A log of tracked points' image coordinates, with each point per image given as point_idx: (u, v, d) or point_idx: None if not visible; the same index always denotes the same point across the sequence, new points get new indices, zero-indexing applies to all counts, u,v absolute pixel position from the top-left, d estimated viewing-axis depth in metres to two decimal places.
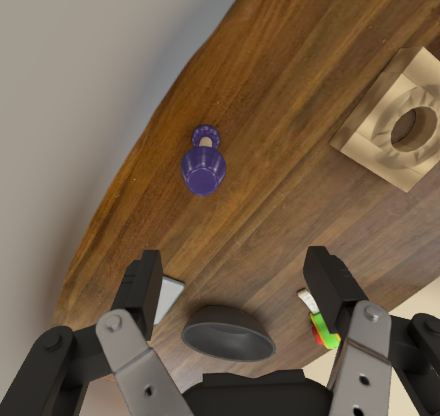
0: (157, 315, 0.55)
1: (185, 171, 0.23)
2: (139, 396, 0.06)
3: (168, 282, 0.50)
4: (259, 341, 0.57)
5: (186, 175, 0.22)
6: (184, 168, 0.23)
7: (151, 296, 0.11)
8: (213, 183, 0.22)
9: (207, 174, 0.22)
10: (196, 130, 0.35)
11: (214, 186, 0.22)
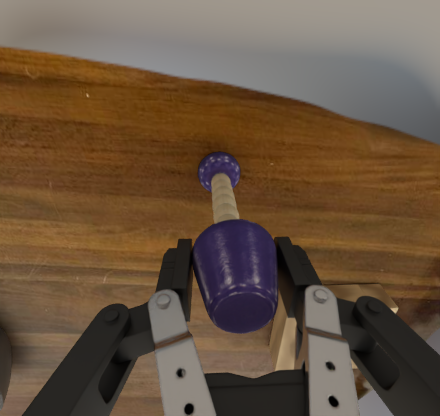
0: None
1: (239, 267, 0.10)
2: (170, 374, 0.07)
3: None
4: None
5: (239, 282, 0.10)
6: (236, 254, 0.11)
7: (189, 280, 0.12)
8: (251, 329, 0.11)
9: (264, 314, 0.10)
10: (226, 157, 0.23)
11: (245, 332, 0.11)
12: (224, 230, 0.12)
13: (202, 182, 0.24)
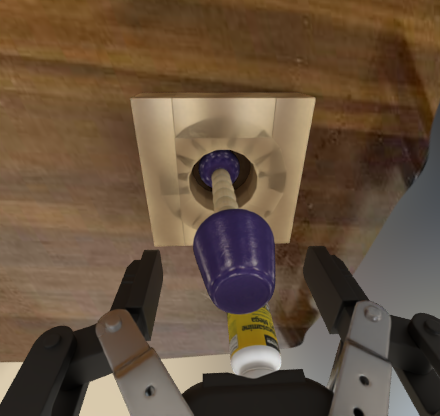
0: None
1: (238, 251, 0.11)
2: (139, 396, 0.06)
3: None
4: None
5: (238, 264, 0.11)
6: (236, 240, 0.11)
7: (151, 296, 0.11)
8: (249, 309, 0.11)
9: (262, 295, 0.11)
10: (226, 153, 0.24)
11: (244, 313, 0.12)
12: (224, 218, 0.13)
13: (202, 177, 0.25)
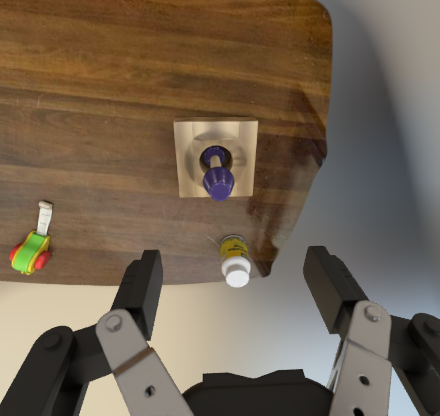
0: None
1: (218, 177, 0.33)
2: (139, 396, 0.06)
3: None
4: None
5: (218, 181, 0.33)
6: (218, 175, 0.34)
7: (151, 296, 0.11)
8: (222, 198, 0.34)
9: (226, 192, 0.33)
10: (218, 147, 0.46)
11: (221, 200, 0.34)
12: (214, 169, 0.35)
13: (205, 160, 0.47)
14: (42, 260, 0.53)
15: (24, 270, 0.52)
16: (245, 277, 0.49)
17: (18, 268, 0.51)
